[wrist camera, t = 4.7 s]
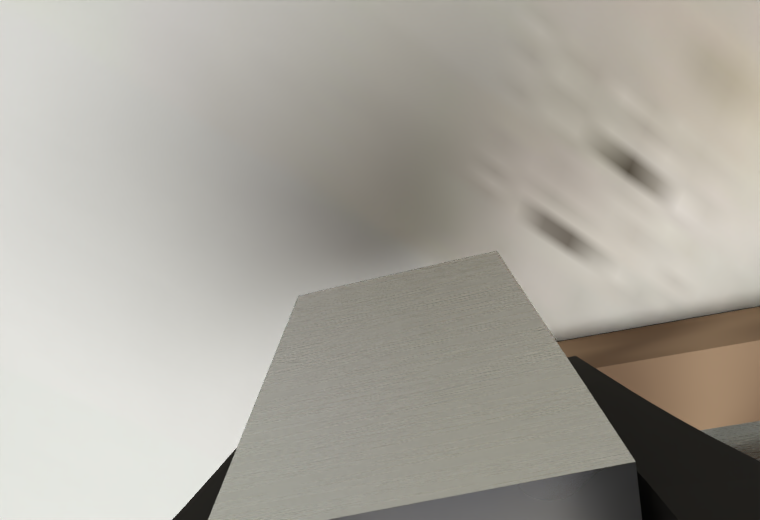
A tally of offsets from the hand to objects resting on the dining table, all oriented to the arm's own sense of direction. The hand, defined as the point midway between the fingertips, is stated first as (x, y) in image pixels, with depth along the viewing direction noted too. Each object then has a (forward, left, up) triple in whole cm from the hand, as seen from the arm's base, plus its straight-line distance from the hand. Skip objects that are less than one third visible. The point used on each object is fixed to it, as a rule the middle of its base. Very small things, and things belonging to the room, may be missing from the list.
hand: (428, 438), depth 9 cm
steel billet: (0, 0, -2) cm, 2 cm away
